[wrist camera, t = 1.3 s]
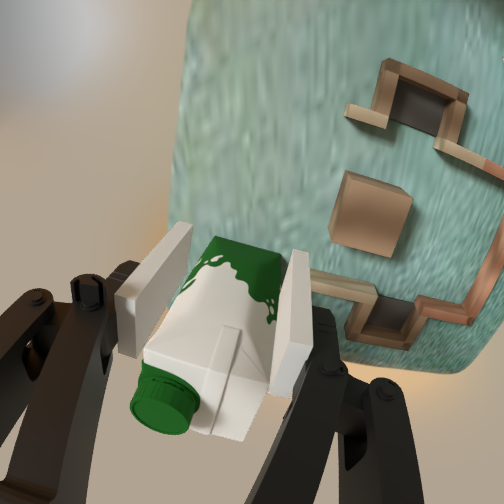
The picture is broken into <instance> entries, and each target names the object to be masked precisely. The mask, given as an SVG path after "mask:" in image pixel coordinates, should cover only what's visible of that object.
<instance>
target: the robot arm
mask: <svg viewBox="0 0 504 504" xmlns="http://www.w3.org/2000/svg"><path fill="white" fill-rule="evenodd" d="M192 230H193V224H189V223H185V222H180V221H178V222H177V223H176V224H175V225H174V227H173V228H172V229H171V230H170V231H169V232H168V233H167V234H166V235H165V236H164V238H163V239H162V240H161V241H160V242H159V243H158V244H157V245H156V246H155V248H154V249H153V250H152V251H151V252H150V253H149V254H148V255H147V257H146V258H145V259H144V260H143V261H142V262H141V263H138V262H134V261H131V260H129V261H127V262H124V263H122V264H120V265H119V266H118V267H117V268H116V269H115V270H114V272H112V273H111V274H110V275H109V277H108V278H107V279H106V280H105V279H104V278H102V277H101V276H98V275H95V274H83V275H79V276H77V277H75V278H74V279H73V280H72V281H71V282H70V284H71V292H72V300H73V302H72V303H62V302H54V300H53V295H52V294H51V292H50V291H48V290H46V289H41V288H37V289H32V290H29V291H27V292H26V293H24V294H23V295H22V296H21V297H20V298H19V299H17V300H16V301H15V302H14V303H13V304H12V305H11V306H10V307H9V308H8V309H7V310H6V311H5V312H4V313H3V314H2V315H1V316H0V447H1V445H2V444H3V442H4V441H5V439H6V437H7V436H8V434H9V433H10V431H11V430H12V428H13V427H14V425H15V424H16V422H17V420H18V419H19V417H20V416H21V414H22V413H23V411H24V410H25V408H26V407H27V406H28V407H27V410H26V413H25V416H24V418H23V421H22V425H21V427H20V431H19V434H18V437H17V440H16V443H15V447H14V450H13V454H12V457H11V461H10V464H9V468H8V472H7V475H6V477H5V479H4V480H3V481H0V504H86V496H87V488H88V480H89V474H90V468H91V461H92V455H93V449H94V443H95V438H96V432H97V427H98V422H99V417H100V413H101V408H102V402H103V398H104V394H105V389H106V385H107V381H108V377H109V372H110V368H111V365H112V361H113V353H112V350H113V348H114V347H115V345H116V344H117V343H118V352H119V353H121V354H124V355H127V356H129V357H132V358H135V359H137V357H138V356H139V354H140V352H141V350H142V348H143V347H144V345H145V343H146V342H147V340H148V338H149V336H150V334H151V333H152V331H153V329H154V328H155V326H156V324H157V322H158V321H159V319H160V317H161V315H162V314H163V312H164V310H165V309H166V307H167V305H168V303H169V302H170V300H171V298H172V297H173V295H174V293H175V292H176V290H177V288H178V287H179V285H180V283H181V281H182V280H183V278H184V276H185V275H186V273H187V268H188V260H189V252H190V245H191V237H192ZM29 341H31V342H30V343H29V344H28V342H29ZM27 344H28V345H27ZM26 345H27V346H26ZM292 391H293V396H292V402H291V404H290V406H289V408H288V410H287V411H286V414H285V415H284V417H283V422H282V424H281V426H280V429H279V431H278V433H277V436H276V438H275V440H274V443H273V445H272V447H271V449H270V451H269V454H268V456H267V458H266V460H265V462H264V464H263V466H262V469H261V471H260V473H259V475H258V477H257V479H256V481H255V483H254V485H253V487H252V489H251V491H250V493H249V495H248V497H247V499H246V501H245V503H244V504H313V502H314V499H315V496H316V493H317V491H318V488H319V484H320V481H321V478H322V475H323V472H324V468H325V465H326V462H327V458H328V455H329V451H330V448H331V444H332V441H333V436H334V433H335V432H338V456H339V504H424V497H423V491H422V484H421V478H420V472H419V466H418V460H417V455H416V449H415V444H414V439H413V434H412V430H411V425H410V420H409V416H408V411H407V407H406V403H405V399H404V394H403V392H402V390H401V388H400V387H399V386H398V385H397V384H396V383H395V382H393V381H392V380H390V379H387V378H376V379H374V380H372V381H371V383H370V384H368V383H366V382H363V381H361V380H358V379H356V378H354V377H353V376H351V375H350V374H348V368H347V367H346V365H345V364H344V362H342V361H341V360H340V354H339V346H338V338H337V330H336V322H335V317H334V316H333V314H332V313H331V311H330V310H329V309H325V308H320V307H316V306H312V302H311V283H310V266H309V253H308V252H304V251H300V250H296V249H293V252H292V255H291V258H290V262H289V265H288V269H287V272H286V275H285V279H284V282H283V285H282V288H281V292H280V295H279V304H278V314H277V323H276V332H275V341H274V350H273V359H272V367H271V376H270V384H269V393H268V395H272V396H277V397H282V398H288V399H289V397H290V395H291V393H292Z"/></svg>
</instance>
